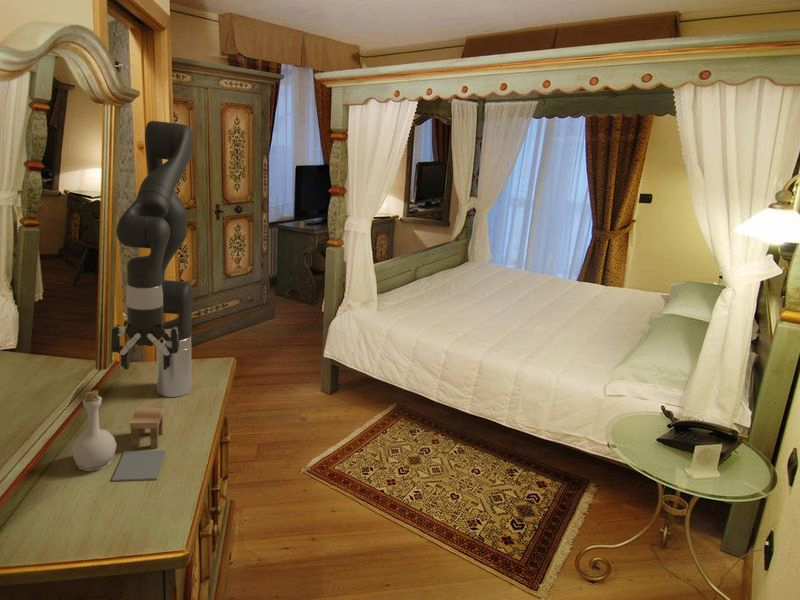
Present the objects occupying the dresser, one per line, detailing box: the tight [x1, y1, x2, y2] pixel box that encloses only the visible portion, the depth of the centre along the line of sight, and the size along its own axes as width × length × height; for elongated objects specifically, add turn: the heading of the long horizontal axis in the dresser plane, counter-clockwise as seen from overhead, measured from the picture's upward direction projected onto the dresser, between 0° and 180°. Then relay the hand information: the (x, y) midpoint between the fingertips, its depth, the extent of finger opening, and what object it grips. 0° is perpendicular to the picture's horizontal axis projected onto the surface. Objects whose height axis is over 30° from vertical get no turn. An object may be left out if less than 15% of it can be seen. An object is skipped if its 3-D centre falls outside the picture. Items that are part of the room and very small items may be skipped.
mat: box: [111, 449, 167, 482], centre depth 123 cm, size 11×9×1 cm
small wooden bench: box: [129, 406, 165, 450], centre depth 132 cm, size 8×6×7 cm
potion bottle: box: [71, 389, 118, 473], centre depth 120 cm, size 9×9×18 cm
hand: (146, 368), depth 127 cm, fingers open, 8 cm apart
